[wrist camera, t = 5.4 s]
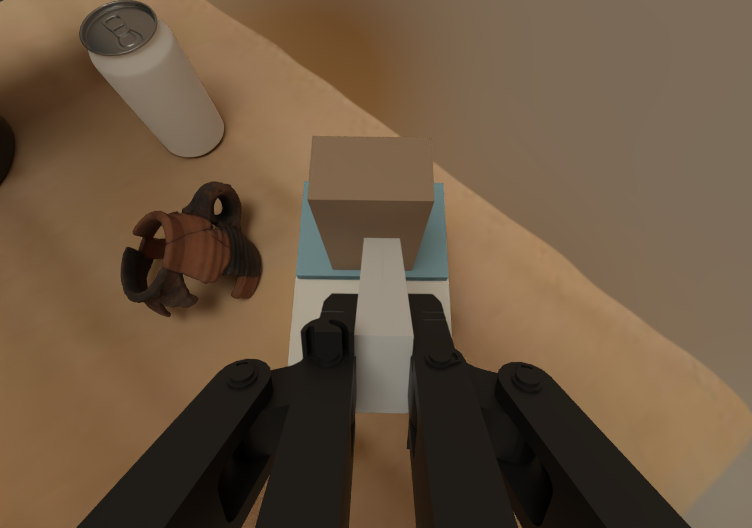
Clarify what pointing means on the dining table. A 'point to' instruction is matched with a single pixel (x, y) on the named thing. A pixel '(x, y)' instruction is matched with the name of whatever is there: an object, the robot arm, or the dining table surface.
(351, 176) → the flap
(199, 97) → the can
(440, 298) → the carton
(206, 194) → the pottery mug
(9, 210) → the dining table surface
